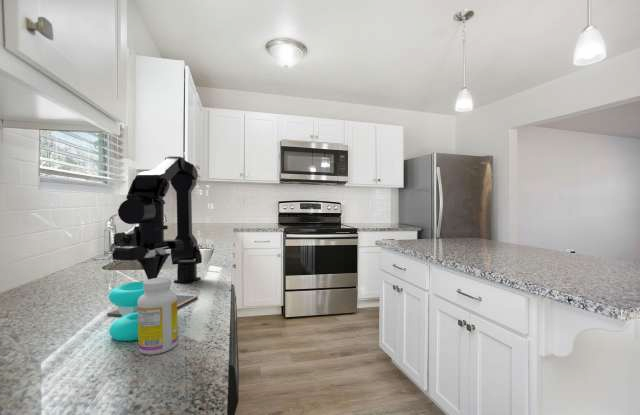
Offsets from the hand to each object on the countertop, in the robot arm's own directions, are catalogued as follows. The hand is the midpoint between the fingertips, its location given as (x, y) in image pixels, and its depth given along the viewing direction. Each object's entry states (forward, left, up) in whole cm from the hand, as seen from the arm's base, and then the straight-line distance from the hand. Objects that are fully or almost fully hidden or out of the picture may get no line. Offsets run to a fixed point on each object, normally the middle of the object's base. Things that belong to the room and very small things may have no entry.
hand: (152, 282), depth 80 cm
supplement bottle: (+19, +17, -7) cm, 26 cm away
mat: (-1, 0, -7) cm, 7 cm away
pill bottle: (0, 0, -4) cm, 4 cm away
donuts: (+14, +8, -7) cm, 17 cm away
